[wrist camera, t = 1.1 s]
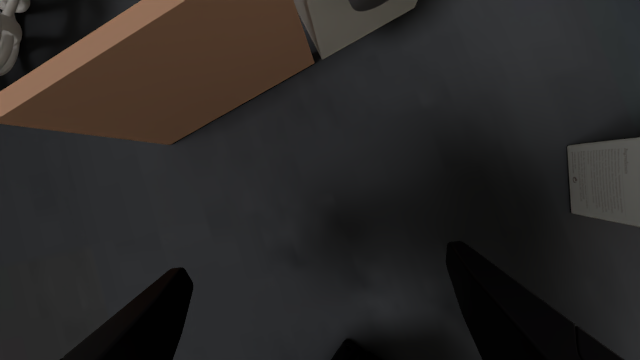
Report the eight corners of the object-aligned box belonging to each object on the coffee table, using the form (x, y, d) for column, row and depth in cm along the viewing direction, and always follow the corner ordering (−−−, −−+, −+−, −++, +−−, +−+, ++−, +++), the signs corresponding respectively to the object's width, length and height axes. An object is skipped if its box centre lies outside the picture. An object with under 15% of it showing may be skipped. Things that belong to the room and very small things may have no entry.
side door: (314, 63, 24) (274, -57, 11) (170, 144, 26) (-9, 122, 13) (309, 52, 24) (263, -78, 11) (165, 135, 26) (-19, 103, 13)
